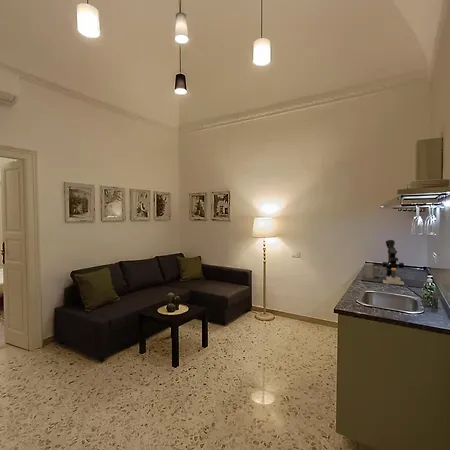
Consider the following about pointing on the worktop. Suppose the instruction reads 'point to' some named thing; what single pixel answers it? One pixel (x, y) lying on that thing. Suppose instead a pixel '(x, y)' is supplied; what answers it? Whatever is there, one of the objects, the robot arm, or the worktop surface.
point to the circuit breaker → (370, 270)
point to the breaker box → (393, 280)
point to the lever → (393, 271)
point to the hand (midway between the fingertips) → (393, 271)
